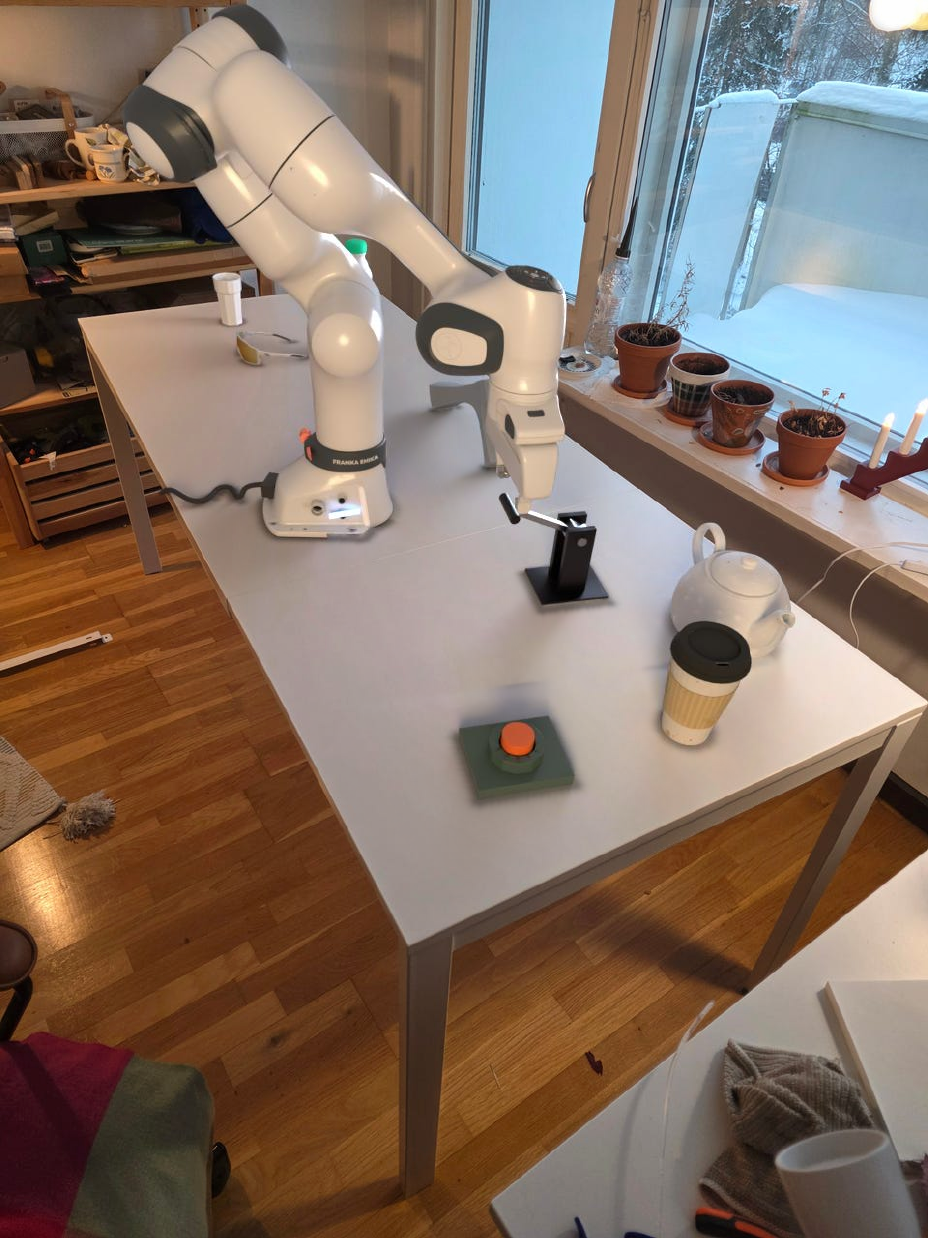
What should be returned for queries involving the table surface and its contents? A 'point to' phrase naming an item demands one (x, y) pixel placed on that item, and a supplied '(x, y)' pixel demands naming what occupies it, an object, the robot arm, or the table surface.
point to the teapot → (733, 594)
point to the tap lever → (535, 516)
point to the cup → (229, 297)
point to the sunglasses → (253, 354)
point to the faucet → (472, 394)
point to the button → (517, 739)
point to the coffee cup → (702, 679)
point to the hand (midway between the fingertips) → (512, 492)
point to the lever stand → (568, 566)
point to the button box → (514, 760)
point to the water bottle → (358, 252)
